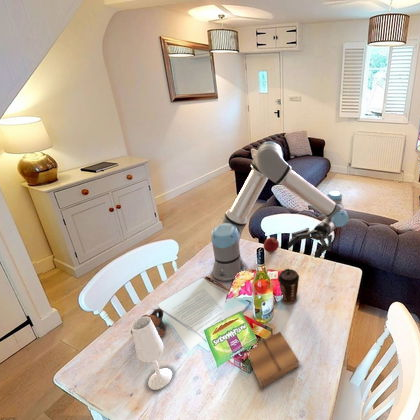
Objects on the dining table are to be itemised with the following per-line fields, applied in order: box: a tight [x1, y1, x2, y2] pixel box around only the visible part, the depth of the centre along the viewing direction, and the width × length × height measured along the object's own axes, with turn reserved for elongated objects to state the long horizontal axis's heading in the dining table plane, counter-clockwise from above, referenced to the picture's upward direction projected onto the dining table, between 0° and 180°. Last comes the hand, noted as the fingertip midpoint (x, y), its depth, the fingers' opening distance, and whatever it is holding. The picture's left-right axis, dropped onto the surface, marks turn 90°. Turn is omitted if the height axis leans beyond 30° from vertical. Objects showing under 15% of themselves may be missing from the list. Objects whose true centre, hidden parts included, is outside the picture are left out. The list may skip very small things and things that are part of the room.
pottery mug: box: [130, 308, 167, 338], centre depth 99 cm, size 12×10×8 cm
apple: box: [263, 237, 280, 253], centre depth 146 cm, size 8×8×8 cm
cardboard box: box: [248, 331, 300, 389], centre depth 89 cm, size 13×13×3 cm
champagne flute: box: [130, 316, 173, 391], centre depth 78 cm, size 7×7×24 cm
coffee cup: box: [277, 268, 300, 304], centre depth 113 cm, size 9×8×13 cm
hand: (301, 250), depth 115 cm, fingers open, 13 cm apart
